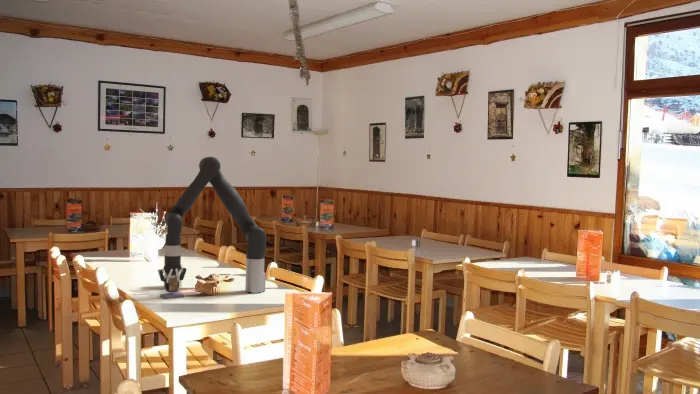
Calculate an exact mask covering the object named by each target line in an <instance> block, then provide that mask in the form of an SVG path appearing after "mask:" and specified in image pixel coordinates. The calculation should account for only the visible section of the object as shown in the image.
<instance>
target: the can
mask: <svg viewBox="0 0 700 394" xmlns="http://www.w3.org/2000/svg"><path fill="white" fill-rule="evenodd" d="M180 265H181V267H182V268H183V264H180ZM180 274H181V270H180V271H179V277H180ZM163 275H164V278H165V275H166V272H165V271H164V273H163ZM170 278H175V277H174V275H172V276H171V277H170ZM163 288H164V289H165V282H163ZM181 288H183V280H181V281H180V282H179V288H178V289H181Z"/></svg>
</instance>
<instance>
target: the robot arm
mask: <svg viewBox="0 0 700 394" xmlns="http://www.w3.org/2000/svg"><path fill="white" fill-rule="evenodd" d="M198 168H199V172H198V173H197V175H196V176H195V178H194V179H193V181H191V183H190V184H189V185H188V186H187V188H186V189H184V191H183V192H182V194H180V197H179V198H178V200H177V201H176V203H175V204H174V205H173V206H172V207H171V208H170V209H169V211H168V212H167V213H166V214H165V216H164V223H165V224H166V226H167V230H166V235H165V239H164V240H165V242H164V243H165V245H164V252H163V253H164V258H163V259H164V266H163V268H161V269H157V272H158V275H159V278H160V281H161V282H163V283H164V282H165V288H164V289H165V291H166V290H169V283H168V282H169V279H170V277H171V276H172V275H174V277H175V278H176V279H178V289H180V288H179V282H180V281H181V280H182V281H183V280H184V278H185V275H186V273H187V269H188V268H186V267H183V266H182V267H181V265H180V264H181V263H182V261H181V260H182V258H181V257H182V248H181V242H182V240H181V239H182V238H181V234H182V229H183V217H184V215H186V213H188V212H189V211H190V210H191V209H192V207H193V205H194V204H195V202H196V201H197V199H198V198H199V196H200V194H201V193H202V192H203V190H204V189H205V188H206V186H207V185H208V184H209V183H210V185H211V186H212V188H213V189H214V191H215V193H216V194H217V197H218V198H219V200H220V201H221V203H222V205H223V206H224V208H225V209H226V210H227V212H228V213H229V214H230V216H231V217H232V218H233V220H234V221H235V222H236V223H237V225H238V226H239V228H240V230H241V232H242V234H243V236H244V238H245V240H246V241H247V252H246V253H245V287H244V288H245V290H244V291H245V293H248V292H251V293H250V294H259V293H258V292H261V293H263V292H262V291H264V292H266V279H267V278H266V275H267V274H266V272H265V255H266V252H267V251H266V250H267V234H266V231H265V230H264V229H263V228H262V227H259V226H258V225H257V223H256V222H255V220H253V218H252V217H251V216H250V213H249V210H248V208H247V205H246V203H245V202H244V200H243V198H242V196H241V195H240V194H239V192H238V190H236V188H235V187H234V186H233V185H232V184H231V183H230V182H229V181H228V180H227V179H226V177H225V176H224V174H223V173H222V171H221V162H220V160H219V159H218V158H216V157H215V156H206V157H203V158H202V159H201V160H199V163H198ZM180 270H181V274H180V277H179V271H180ZM164 271H165V272H166V275H165V278H164Z"/></svg>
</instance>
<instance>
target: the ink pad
mask: <svg viewBox="0 0 700 394" xmlns="http://www.w3.org/2000/svg"><path fill="white" fill-rule="evenodd" d="M159 297H161V298H163V299H164V300H171V299H172V300H173V299H179V298H185V295H183V294H181V293H178V292H170V293H169V292H167V293H161V294H160V295H159Z"/></svg>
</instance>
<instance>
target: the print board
mask: <svg viewBox="0 0 700 394" xmlns="http://www.w3.org/2000/svg"><path fill="white" fill-rule="evenodd" d="M196 290H197V289H196ZM196 290H195V288H188V289H187V288H186V289H184V288H183V289H178V293H181V294H183V295H184V296H192V295H199V294H200V293H201V292H202V291H201V292H198V291H199V290H198V291H196ZM201 294H202V293H201Z"/></svg>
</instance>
